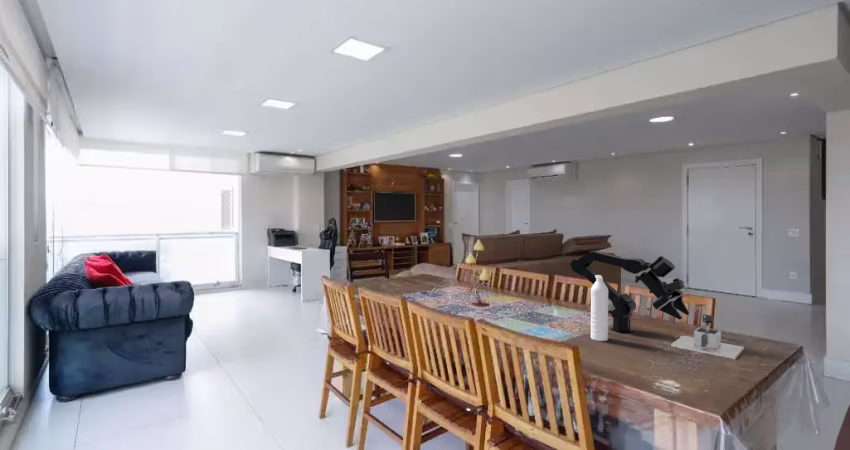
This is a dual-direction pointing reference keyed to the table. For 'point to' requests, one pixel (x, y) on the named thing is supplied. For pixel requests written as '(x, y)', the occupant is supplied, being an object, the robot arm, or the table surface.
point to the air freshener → (610, 305)
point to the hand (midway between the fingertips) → (684, 316)
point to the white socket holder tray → (708, 344)
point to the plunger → (707, 321)
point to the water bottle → (599, 310)
